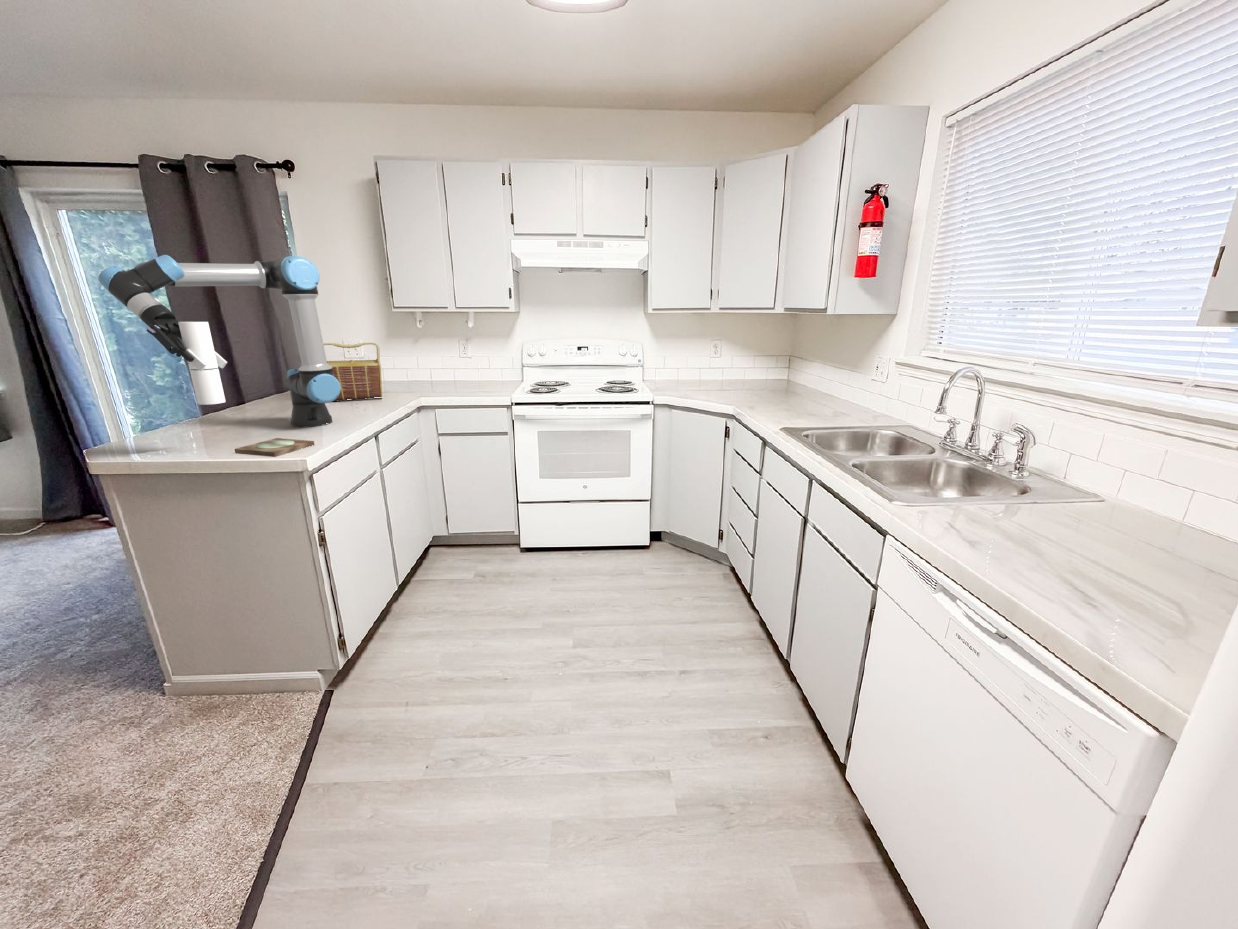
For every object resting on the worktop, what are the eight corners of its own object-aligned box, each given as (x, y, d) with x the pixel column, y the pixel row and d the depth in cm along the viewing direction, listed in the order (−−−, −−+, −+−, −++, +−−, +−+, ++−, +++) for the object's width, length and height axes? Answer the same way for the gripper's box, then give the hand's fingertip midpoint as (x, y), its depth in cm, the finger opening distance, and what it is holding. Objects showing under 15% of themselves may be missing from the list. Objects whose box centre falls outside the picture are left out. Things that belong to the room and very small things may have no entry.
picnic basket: (325, 404, 256) (315, 344, 248) (326, 397, 278) (317, 341, 270) (387, 400, 270) (380, 343, 261) (383, 394, 291) (377, 341, 283)
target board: (277, 442, 180) (276, 437, 180) (314, 445, 177) (313, 440, 176) (235, 453, 166) (234, 448, 165) (274, 456, 162) (273, 451, 161)
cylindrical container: (222, 400, 166) (204, 321, 158) (228, 402, 161) (210, 322, 154) (195, 402, 160) (175, 321, 153) (200, 405, 156) (181, 322, 149)
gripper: (176, 320, 164) (233, 371, 168) (113, 321, 145) (179, 379, 149) (187, 303, 162) (245, 355, 166) (125, 302, 143) (191, 361, 147)
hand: (214, 366), depth 157 cm, fingers closed on cylindrical container, 7 cm apart
